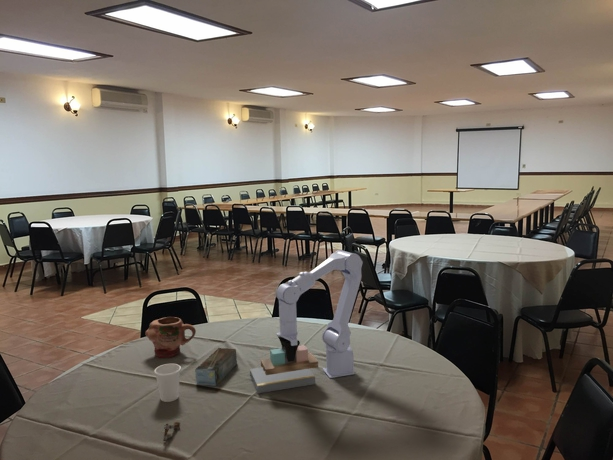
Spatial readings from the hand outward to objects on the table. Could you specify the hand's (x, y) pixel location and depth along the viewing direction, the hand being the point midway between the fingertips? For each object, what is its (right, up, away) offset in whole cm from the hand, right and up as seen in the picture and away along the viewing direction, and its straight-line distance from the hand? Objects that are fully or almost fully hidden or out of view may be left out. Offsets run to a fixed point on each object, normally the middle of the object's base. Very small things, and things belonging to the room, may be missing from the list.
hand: (289, 358), depth 165 cm
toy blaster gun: (-32, -15, -26) cm, 44 cm away
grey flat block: (-3, -9, +6) cm, 11 cm away
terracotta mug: (-48, -6, +32) cm, 58 cm away
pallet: (0, -3, 0) cm, 3 cm away
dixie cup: (-39, -12, -5) cm, 41 cm away
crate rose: (+4, -1, +1) cm, 4 cm away
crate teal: (-4, -1, -1) cm, 4 cm away
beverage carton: (-26, -9, +12) cm, 30 cm away
